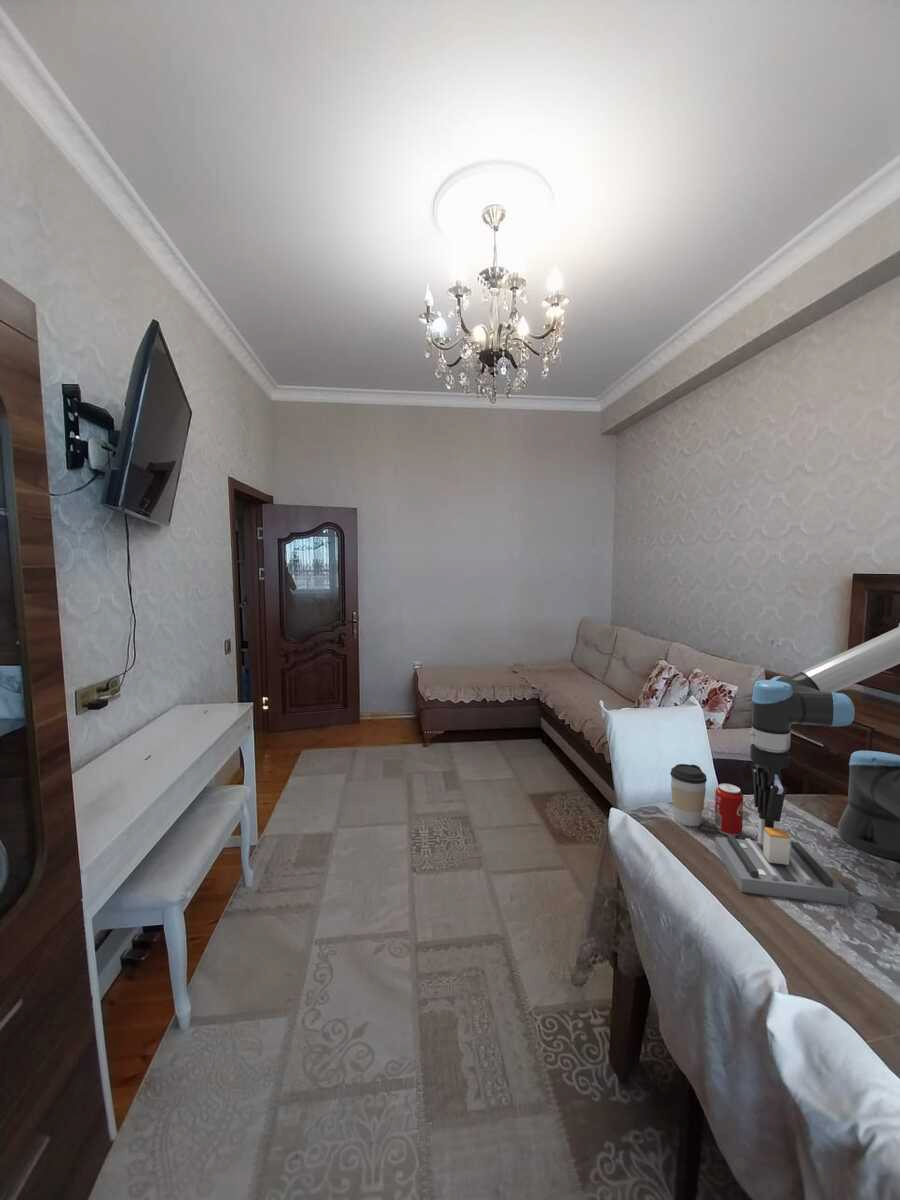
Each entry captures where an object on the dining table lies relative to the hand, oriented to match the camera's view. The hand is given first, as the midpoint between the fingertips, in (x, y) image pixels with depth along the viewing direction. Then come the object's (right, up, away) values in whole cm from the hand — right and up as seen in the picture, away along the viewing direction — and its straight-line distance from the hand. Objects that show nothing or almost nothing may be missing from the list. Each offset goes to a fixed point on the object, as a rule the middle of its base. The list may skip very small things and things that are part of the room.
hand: (765, 843), depth 110 cm
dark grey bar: (+6, -5, -6) cm, 10 cm away
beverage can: (-1, -4, +13) cm, 14 cm away
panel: (-1, -5, -4) cm, 7 cm away
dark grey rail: (-8, -5, -3) cm, 10 cm away
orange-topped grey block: (-1, -1, -5) cm, 5 cm away
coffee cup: (-9, -4, +19) cm, 21 cm away
